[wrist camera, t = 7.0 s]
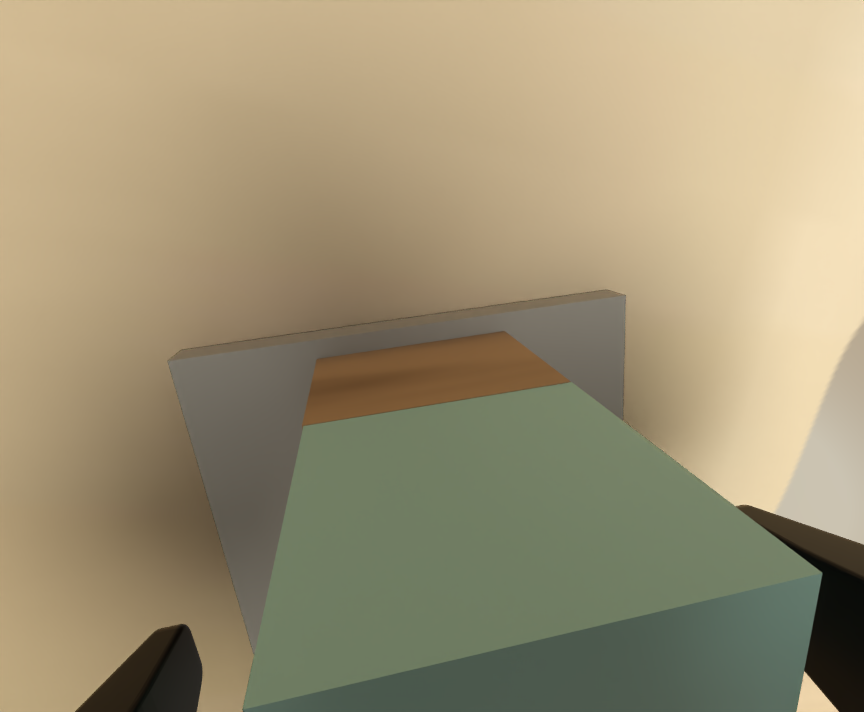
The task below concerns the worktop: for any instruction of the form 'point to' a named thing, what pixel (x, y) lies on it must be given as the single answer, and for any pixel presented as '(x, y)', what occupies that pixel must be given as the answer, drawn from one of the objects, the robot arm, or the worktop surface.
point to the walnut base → (423, 376)
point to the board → (289, 389)
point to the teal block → (521, 571)
